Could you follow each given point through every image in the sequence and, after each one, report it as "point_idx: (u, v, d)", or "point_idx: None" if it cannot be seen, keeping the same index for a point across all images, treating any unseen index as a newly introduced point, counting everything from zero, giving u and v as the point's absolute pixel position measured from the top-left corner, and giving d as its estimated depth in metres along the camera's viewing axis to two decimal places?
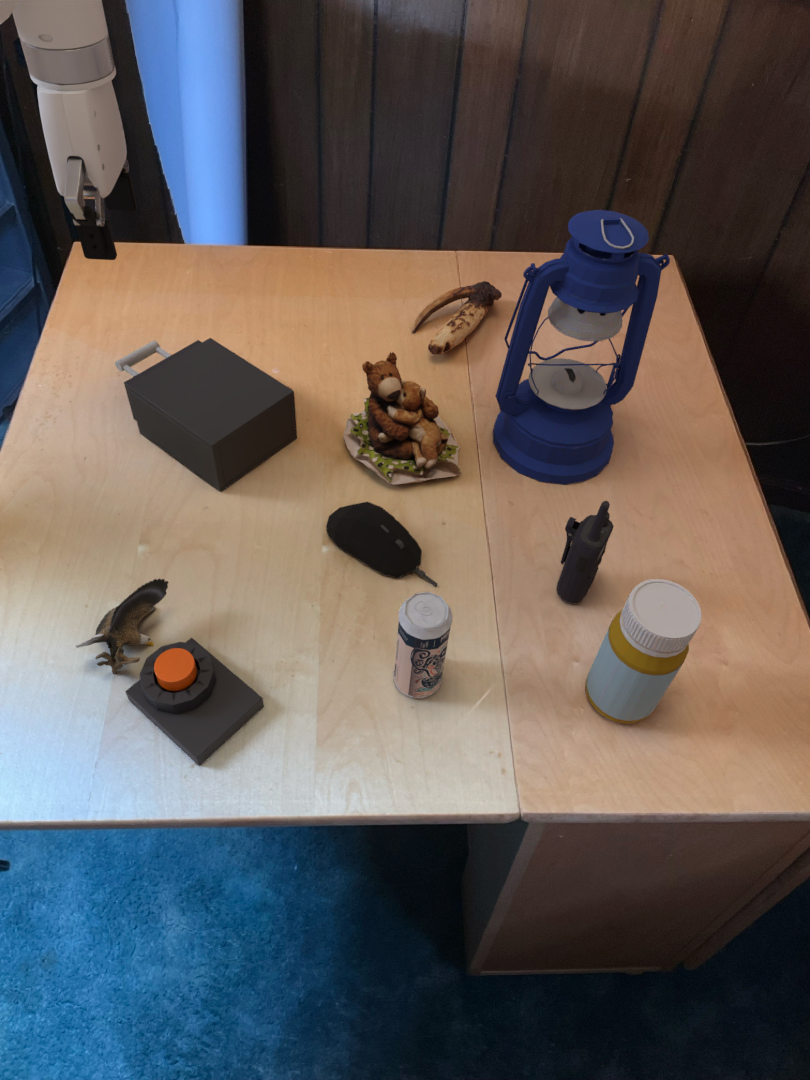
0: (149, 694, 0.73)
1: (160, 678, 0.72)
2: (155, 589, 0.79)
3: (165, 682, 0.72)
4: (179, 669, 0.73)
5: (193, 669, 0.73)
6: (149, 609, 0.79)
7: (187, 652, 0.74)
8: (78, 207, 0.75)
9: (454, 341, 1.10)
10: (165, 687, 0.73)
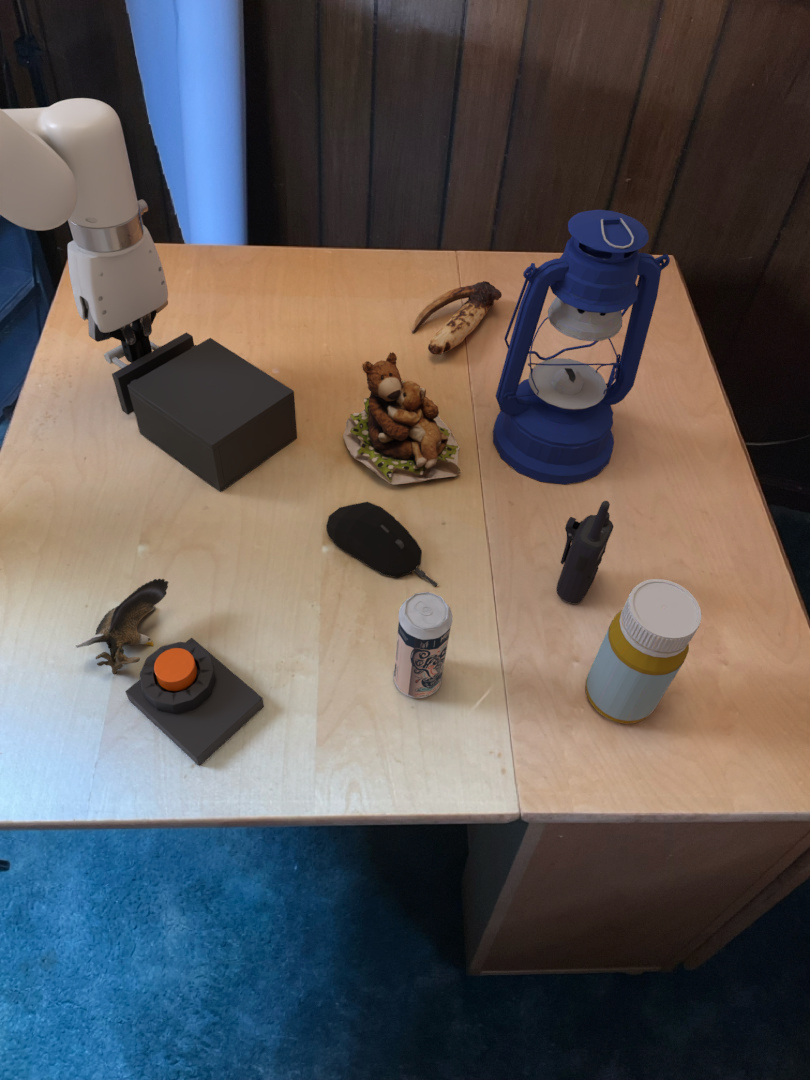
0: (149, 694, 0.73)
1: (160, 678, 0.72)
2: (155, 589, 0.79)
3: (165, 682, 0.72)
4: (179, 669, 0.73)
5: (193, 669, 0.73)
6: (149, 609, 0.79)
7: (187, 652, 0.74)
8: (101, 340, 0.95)
9: (454, 341, 1.10)
10: (165, 687, 0.73)
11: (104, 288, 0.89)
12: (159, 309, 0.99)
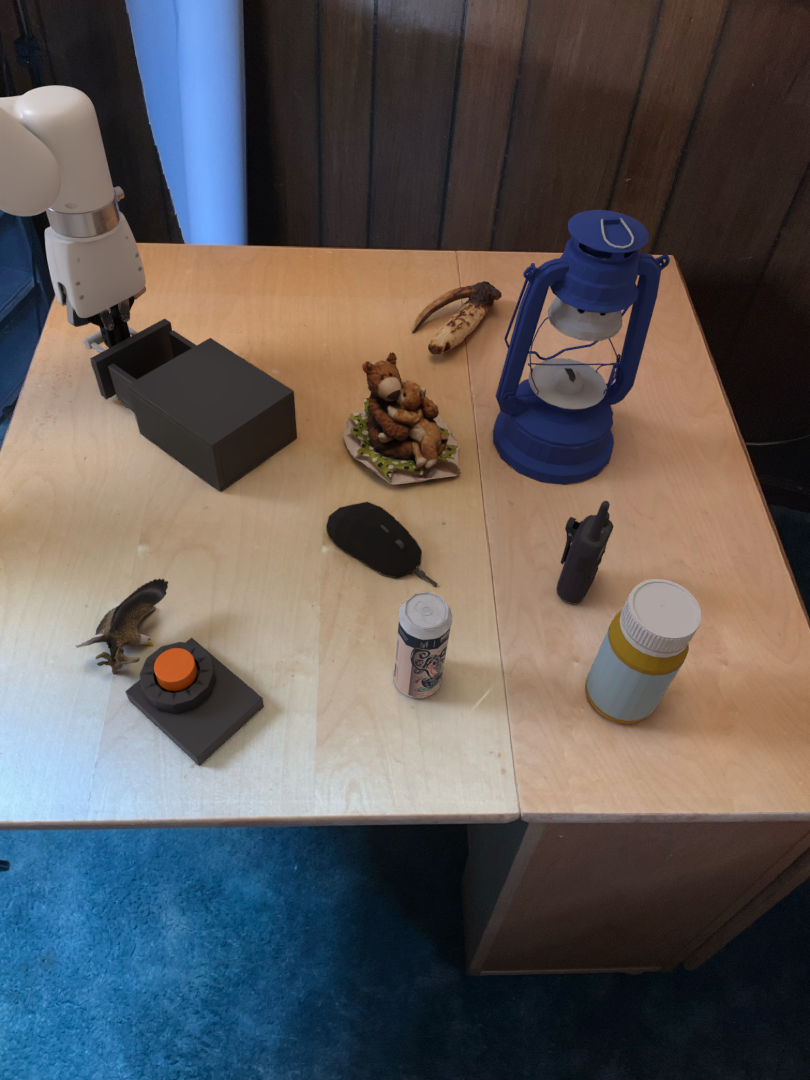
0: (149, 694, 0.73)
1: (160, 678, 0.72)
2: (155, 589, 0.79)
3: (165, 682, 0.72)
4: (179, 669, 0.73)
5: (193, 669, 0.73)
6: (149, 609, 0.79)
7: (187, 652, 0.74)
8: (79, 325, 0.97)
9: (454, 341, 1.10)
10: (165, 687, 0.73)
11: (81, 273, 0.91)
12: (137, 295, 1.01)
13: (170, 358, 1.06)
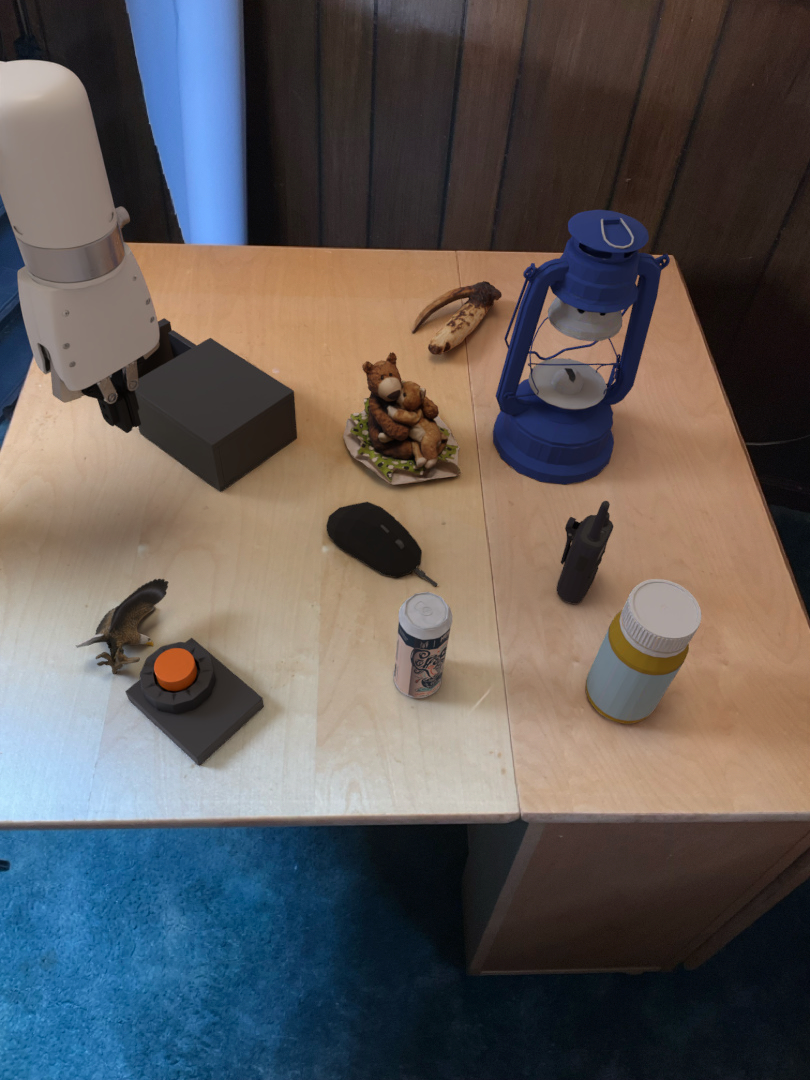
0: (149, 694, 0.73)
1: (160, 678, 0.72)
2: (155, 589, 0.79)
3: (165, 682, 0.72)
4: (179, 669, 0.73)
5: (193, 669, 0.73)
6: (149, 609, 0.79)
7: (187, 652, 0.74)
8: (69, 400, 0.69)
9: (454, 341, 1.10)
10: (165, 687, 0.73)
11: (71, 332, 0.64)
12: (148, 354, 0.74)
13: (170, 357, 1.06)
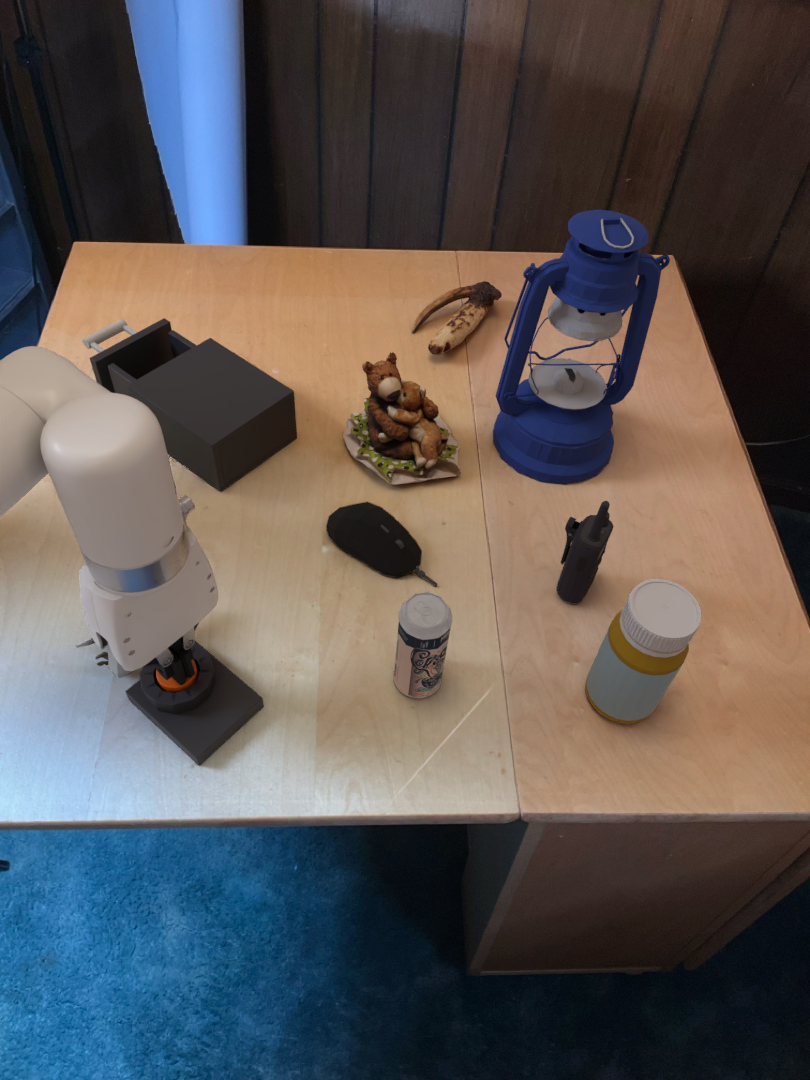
0: (149, 694, 0.73)
1: (162, 684, 0.73)
2: None
3: (167, 688, 0.73)
4: None
5: (195, 675, 0.74)
6: None
7: None
8: (125, 672, 0.67)
9: (454, 341, 1.10)
10: None
11: (132, 628, 0.61)
12: None
13: (170, 357, 1.06)
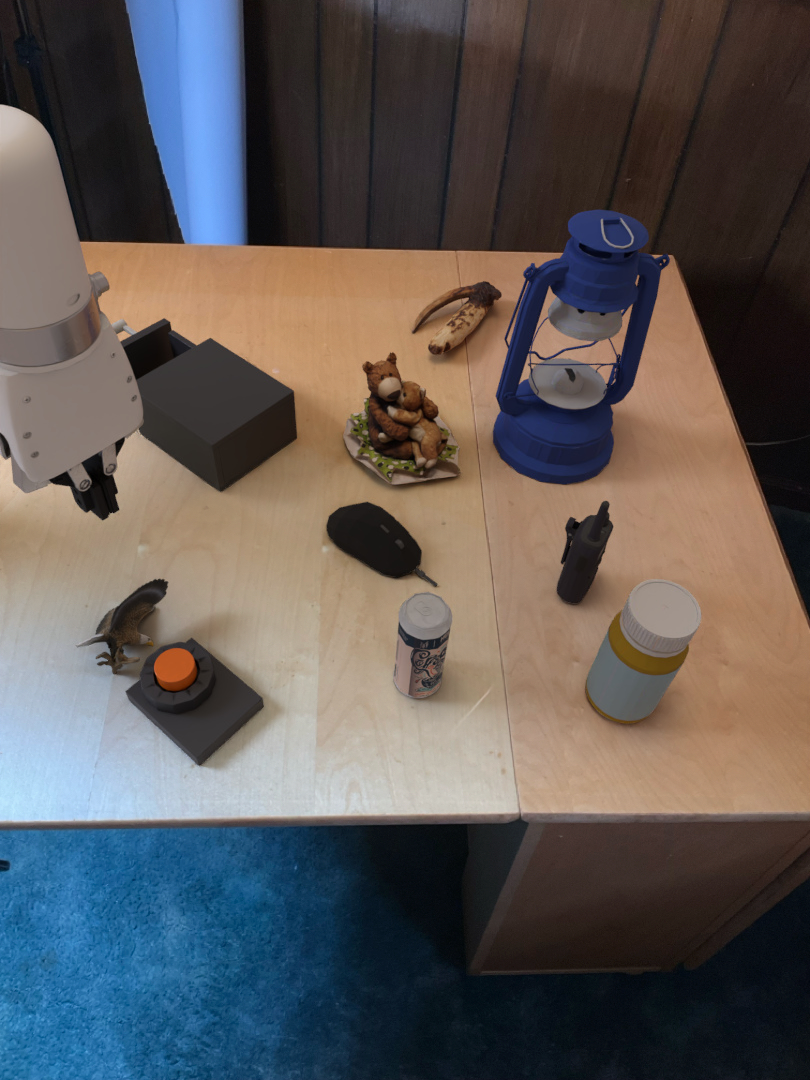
0: (149, 694, 0.73)
1: (160, 678, 0.72)
2: (155, 589, 0.79)
3: (165, 682, 0.72)
4: (179, 669, 0.73)
5: (193, 669, 0.73)
6: (149, 609, 0.79)
7: (187, 652, 0.74)
8: (33, 489, 0.59)
9: (454, 341, 1.10)
10: (165, 687, 0.73)
11: (34, 420, 0.53)
12: (129, 432, 0.63)
13: (170, 357, 1.06)
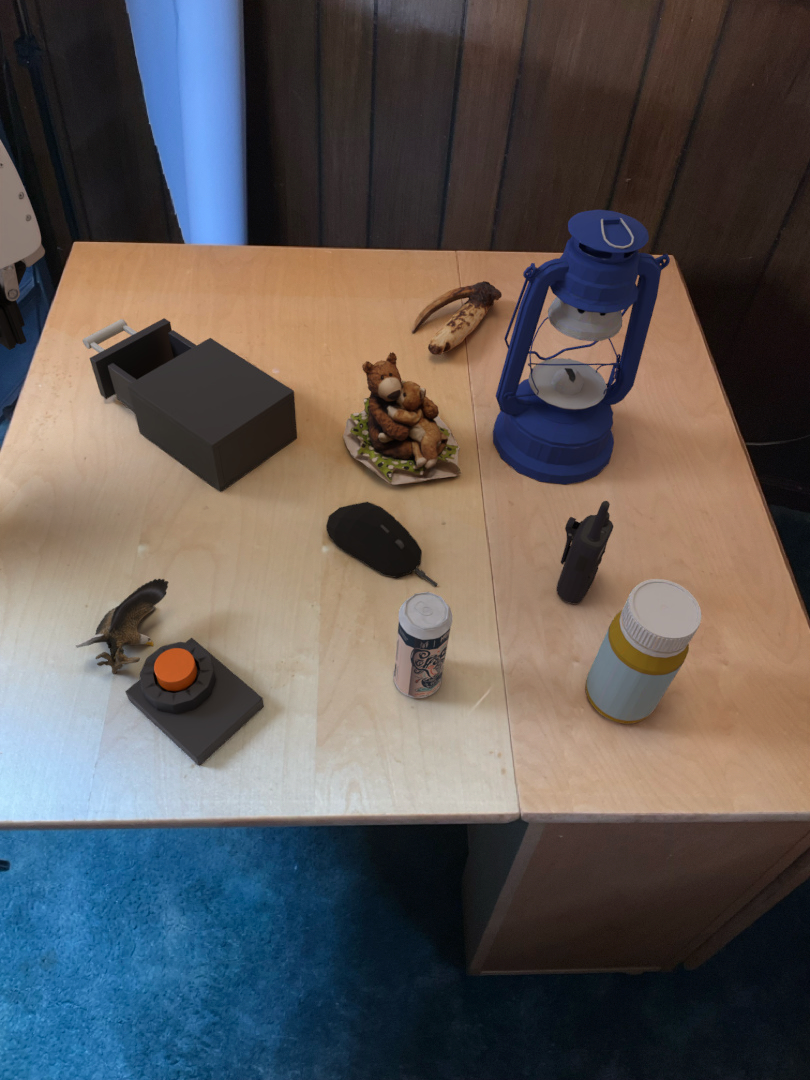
0: (149, 694, 0.73)
1: (160, 678, 0.72)
2: (155, 589, 0.79)
3: (165, 682, 0.72)
4: (179, 669, 0.73)
5: (193, 669, 0.73)
6: (149, 609, 0.79)
7: (187, 652, 0.74)
8: None
9: (454, 341, 1.10)
10: (165, 687, 0.73)
11: None
12: (31, 261, 0.67)
13: (170, 357, 1.06)
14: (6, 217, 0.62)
